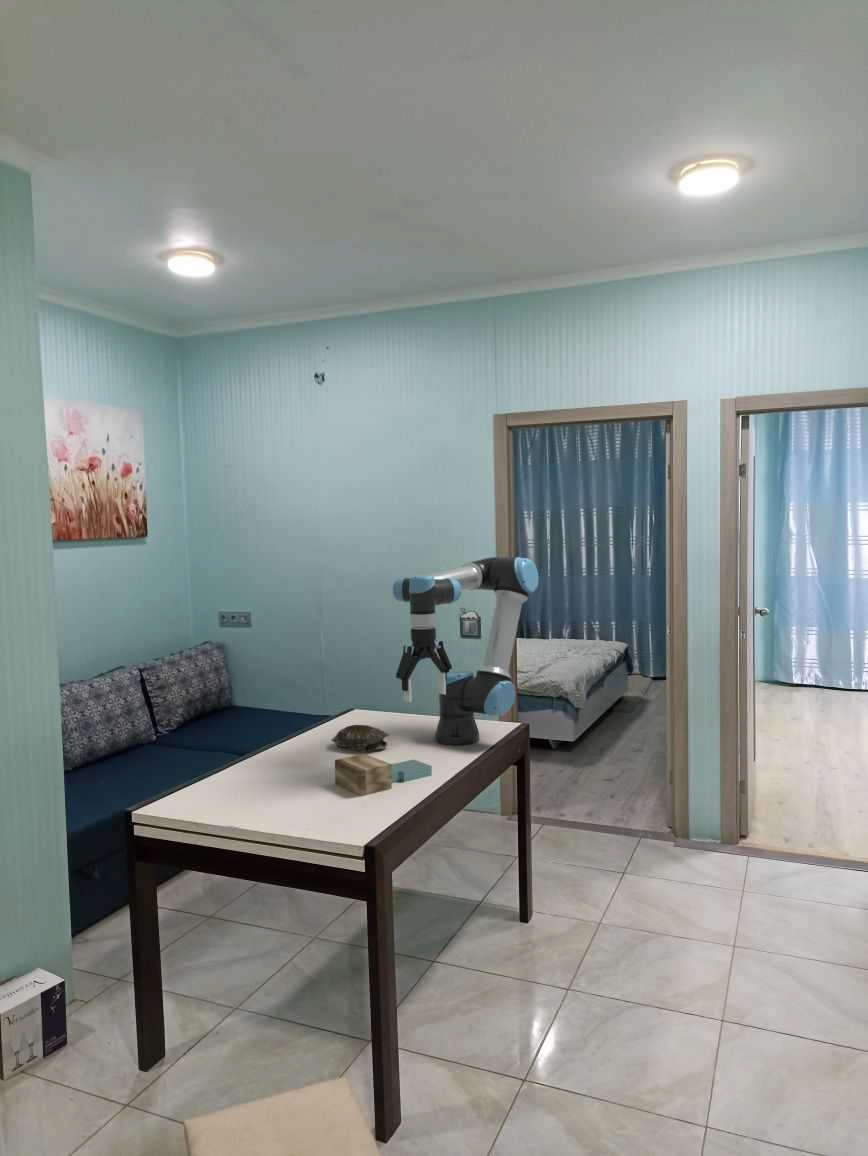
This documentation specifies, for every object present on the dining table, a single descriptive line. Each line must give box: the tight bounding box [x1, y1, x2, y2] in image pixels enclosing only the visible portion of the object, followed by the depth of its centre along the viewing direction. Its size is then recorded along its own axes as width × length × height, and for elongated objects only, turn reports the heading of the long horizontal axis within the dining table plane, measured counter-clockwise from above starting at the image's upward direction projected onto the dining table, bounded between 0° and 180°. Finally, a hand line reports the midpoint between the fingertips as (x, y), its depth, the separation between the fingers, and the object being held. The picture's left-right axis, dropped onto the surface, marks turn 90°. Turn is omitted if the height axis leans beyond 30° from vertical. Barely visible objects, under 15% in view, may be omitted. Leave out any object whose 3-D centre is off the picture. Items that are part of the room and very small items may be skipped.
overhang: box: [334, 753, 393, 797], centre depth 245 cm, size 10×14×7 cm
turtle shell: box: [330, 724, 391, 753], centre depth 287 cm, size 16×9×20 cm
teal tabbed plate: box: [390, 759, 433, 784], centre depth 253 cm, size 14×9×3 cm, turn 127°
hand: (425, 697), depth 259 cm, fingers open, 13 cm apart
